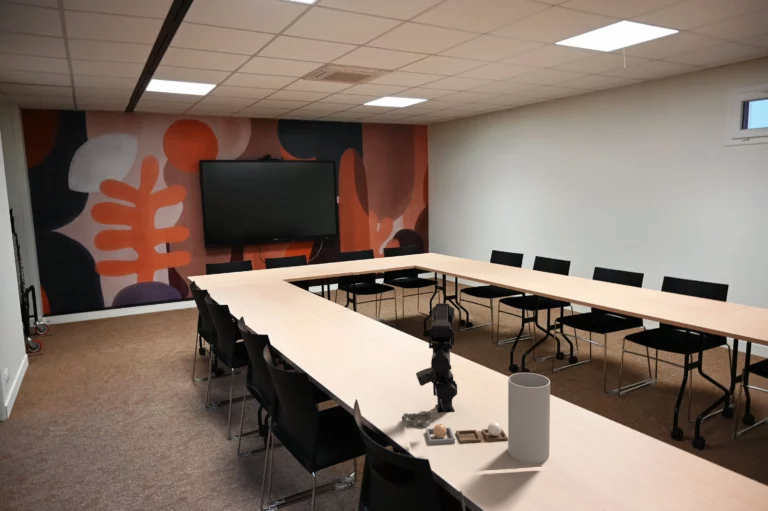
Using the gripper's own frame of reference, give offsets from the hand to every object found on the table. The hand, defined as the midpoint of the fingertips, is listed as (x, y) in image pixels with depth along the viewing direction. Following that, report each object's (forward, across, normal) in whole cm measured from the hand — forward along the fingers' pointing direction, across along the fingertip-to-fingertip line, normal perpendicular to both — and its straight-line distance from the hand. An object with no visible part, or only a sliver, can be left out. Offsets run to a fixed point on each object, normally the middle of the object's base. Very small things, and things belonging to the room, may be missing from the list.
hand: (442, 406), depth 169 cm
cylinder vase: (+12, +13, +25) cm, 31 cm away
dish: (+12, +1, -1) cm, 12 cm away
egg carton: (+12, -12, -8) cm, 19 cm away
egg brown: (+11, +1, -1) cm, 11 cm away
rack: (+12, +2, +13) cm, 18 cm away
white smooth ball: (+11, +2, +18) cm, 21 cm away
